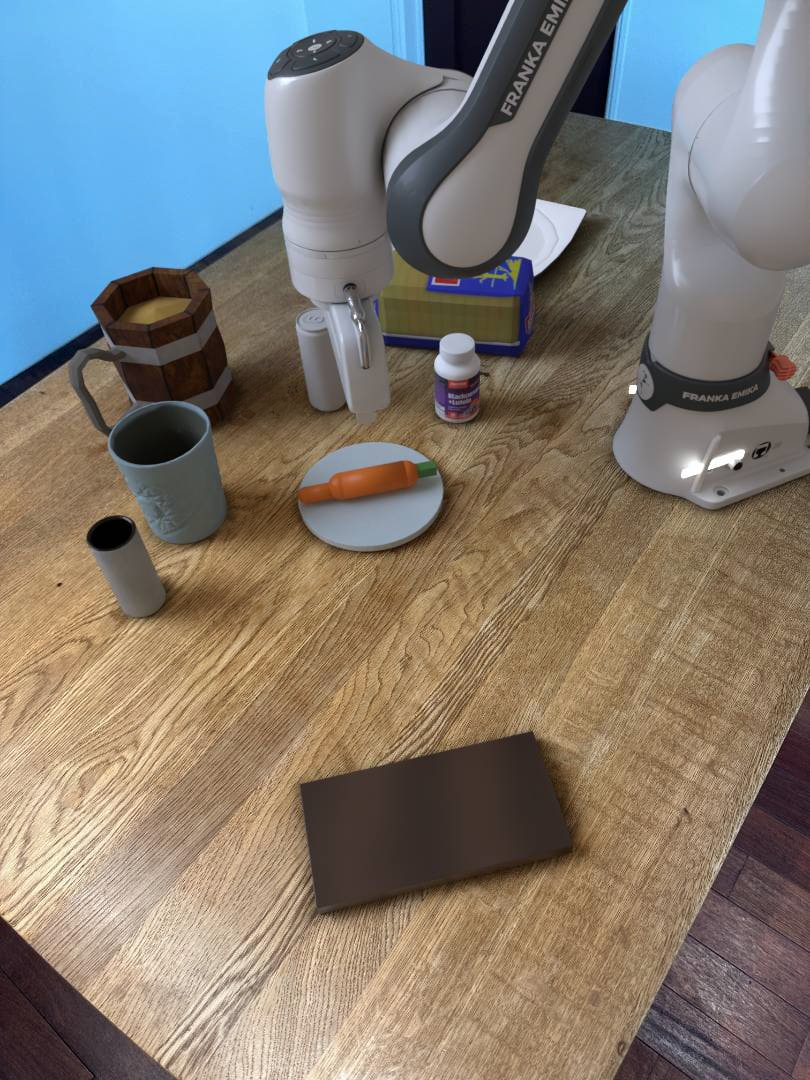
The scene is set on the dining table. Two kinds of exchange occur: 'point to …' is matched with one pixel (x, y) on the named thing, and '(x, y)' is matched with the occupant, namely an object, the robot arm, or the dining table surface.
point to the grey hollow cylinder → (126, 565)
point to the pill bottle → (457, 379)
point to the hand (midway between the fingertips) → (357, 388)
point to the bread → (460, 308)
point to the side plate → (371, 501)
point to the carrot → (368, 481)
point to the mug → (159, 344)
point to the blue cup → (171, 469)
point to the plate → (549, 233)
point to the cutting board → (430, 821)
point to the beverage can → (319, 361)
